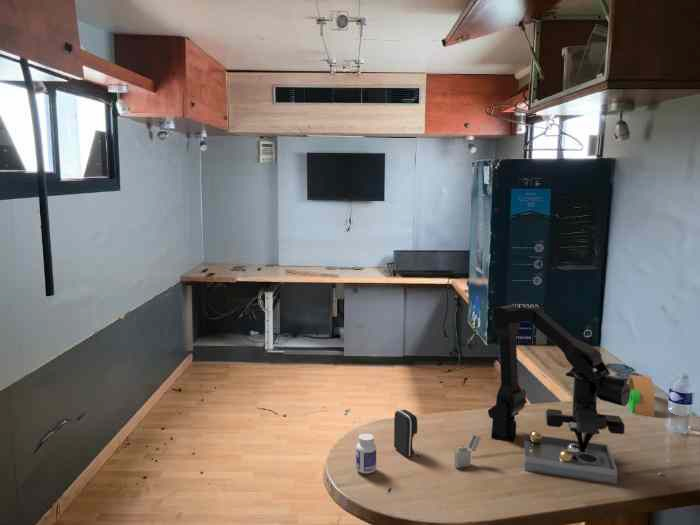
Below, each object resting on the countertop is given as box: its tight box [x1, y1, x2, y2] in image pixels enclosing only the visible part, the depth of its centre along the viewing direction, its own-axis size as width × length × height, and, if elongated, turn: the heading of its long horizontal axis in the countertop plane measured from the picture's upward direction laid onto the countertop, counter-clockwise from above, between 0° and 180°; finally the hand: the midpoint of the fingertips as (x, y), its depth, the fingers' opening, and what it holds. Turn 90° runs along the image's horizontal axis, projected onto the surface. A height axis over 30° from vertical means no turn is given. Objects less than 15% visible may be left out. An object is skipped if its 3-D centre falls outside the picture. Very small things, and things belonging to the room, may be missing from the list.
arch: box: [627, 374, 655, 418], centre depth 183 cm, size 6×20×10 cm, turn 159°
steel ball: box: [567, 444, 580, 457], centre depth 143 cm, size 3×3×3 cm
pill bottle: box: [355, 433, 377, 474], centre depth 139 cm, size 5×5×9 cm
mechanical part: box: [627, 390, 640, 415], centre depth 180 cm, size 12×6×8 cm, turn 162°
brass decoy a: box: [529, 430, 543, 443], centre depth 150 cm, size 3×3×3 cm
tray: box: [523, 432, 619, 486], centre depth 143 cm, size 22×15×4 cm
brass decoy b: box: [559, 450, 573, 463], centre depth 139 cm, size 3×3×3 cm
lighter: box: [453, 433, 482, 469], centre depth 142 cm, size 7×2×8 cm, turn 111°
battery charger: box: [393, 409, 418, 457], centre depth 149 cm, size 7×4×11 cm, turn 30°
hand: (582, 451), depth 142 cm, fingers closed
